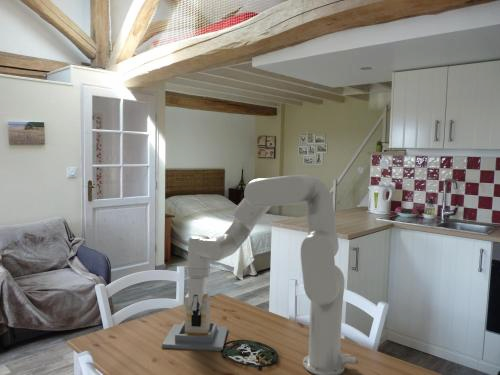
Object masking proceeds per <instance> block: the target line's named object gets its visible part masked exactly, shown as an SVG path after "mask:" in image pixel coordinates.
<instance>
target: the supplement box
mask: <svg viewBox="0 0 500 375" xmlns="http://www.w3.org/2000/svg"><path fill="white" fill-rule="evenodd" d="M192 304H193V302H192ZM197 306H199V304H197ZM197 309H198V310H199V308H197ZM200 315H201V326H200V327H195V326H191V319H192V305H191V306H190V307H189V306H188V293H187V294H186V295H185V296H184V321H185V334H198V335H208V333H209V331H210V322H211V293H206V294H205V296H204V299H203V305H202V306H201V311H200Z"/></svg>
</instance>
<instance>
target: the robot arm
mask: <svg viewBox="0 0 500 375" xmlns="http://www.w3.org/2000/svg"><path fill="white" fill-rule="evenodd" d="M243 195H244V198H242V200H241V201H240V202H239V203H238V205H237V206H235V209H233V216H234V220H233V221H232V223H231V225H230V226H229V228H227V230H226V231H225V232H224V233H223V234H222V235H219V236H217V237H214V238H210V237H209V236H207V235H203V234H202V235H201V234H195V235H191V236H189V237H188V243H187V246H188V248H187V249H188V250H187V255H188V256H187V277H189V281H188V282H189V283H188V292H187V294H188V306H189V307H190V306H191V305H192V319H191V326H195V327H200V326H201V315H200V311H201V306H202V305H203V299H204V296H205V294H207V278H209V277H210V276H211V274H210V269H211V268H210V265H211V263H210V262H218V261H219V262H221V260H224V259H225V258H228V257H230V256H232V255H233V254H235V253H236V252H237V251H238V250H239V249H240V248H241V246H243V244H244V243H245V242H246V240H248V237H249V236H250V235H251V233H252V232H253V230H254V228H255V226H256V225H257V223H258V222H259V221H260V220H261V219H262V218H263V217H264V216H265V214H266V213H267V212H268V211H269V210H270V209H271V207H277V206H288V205H290V206H291V205H297V204H301V203H303V204H305V207H306V223H307V235H306V237H304V238H303V241H302V243H301V245H300V264H301V272H302V273H301V274H302V284H303V289H304V292H305V296H306V297H307V298H308V299H309V301H310V308H309V310H310V311H309V330H308V331H309V332H308V334H309V335H308V354H307V355H306V356H304V357H303V359H302V365H303V367H304V368H305V370H306V371H308V372H310V373H312V374H314V375H341V374H343V373H344V372H345V367H346V364H349V365H356V364H357V358H356V357H354V356H351V354H350V353H344V354H343V353H342V352H341V342H342V341H341V338H342V319H343V305H344V304H343V302H344V301H343V300H344V292H345V276H344V273H343V271H342V270H341V268H339V266H338V265H336V262H335V256H336V255H337V253H338V252H339V248H340V247H339V245H340V244H339V238H338V237H339V236H338V230H337V222H336V216H335V207H334V201H333V197H332V194H331V191H330V190H329V188H328V186H327V185H326V184H325V183H324V182H323V181H322V180H321V179H318V178H316V177H315V176H311V175H309V174H292V175H290V174H289V175H283V176H276V177H275V176H273V177H265V178H255V179H252V180H251V181H249V182H248V183H247V184H246V185H245V188H244V192H243ZM192 302H193V304H192ZM197 304H199V306H197ZM197 308H199V310H198V309H197Z"/></svg>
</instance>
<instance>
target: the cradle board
mask: <svg viewBox="0 0 500 375" xmlns="http://www.w3.org/2000/svg"><path fill="white" fill-rule="evenodd" d="M228 327H229V326H222V325H221V326H219V325H218V322H217V321H216V322H214V321H210V331H209V333H208V335H198V334H185V320H182V322H181V324H180V323H174V324H173V325H172V327H171V328H170V330H169V332H168V333H167V336H166V337H165V339H164V340H163V342H162V343H161V348H162V349H175V350H176V349H179V350H197V351H214V352H215V351H216V352H222V351H221V350H224V347H223V346H225V342H226V338H227V334H228V329H229V328H228Z"/></svg>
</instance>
